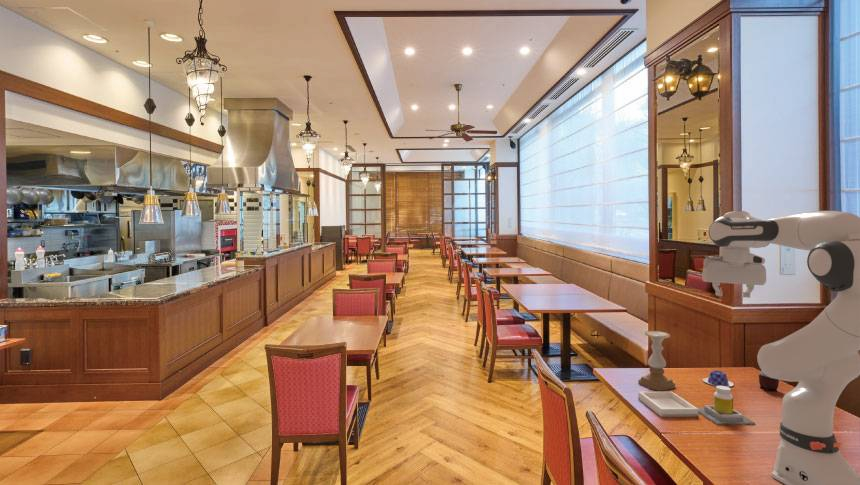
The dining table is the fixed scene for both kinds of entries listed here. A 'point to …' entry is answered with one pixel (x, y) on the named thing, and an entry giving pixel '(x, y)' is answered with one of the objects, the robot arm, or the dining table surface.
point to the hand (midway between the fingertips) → (732, 296)
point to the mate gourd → (768, 382)
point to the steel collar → (724, 417)
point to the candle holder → (657, 365)
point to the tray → (668, 404)
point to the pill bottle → (723, 400)
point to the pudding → (718, 379)
